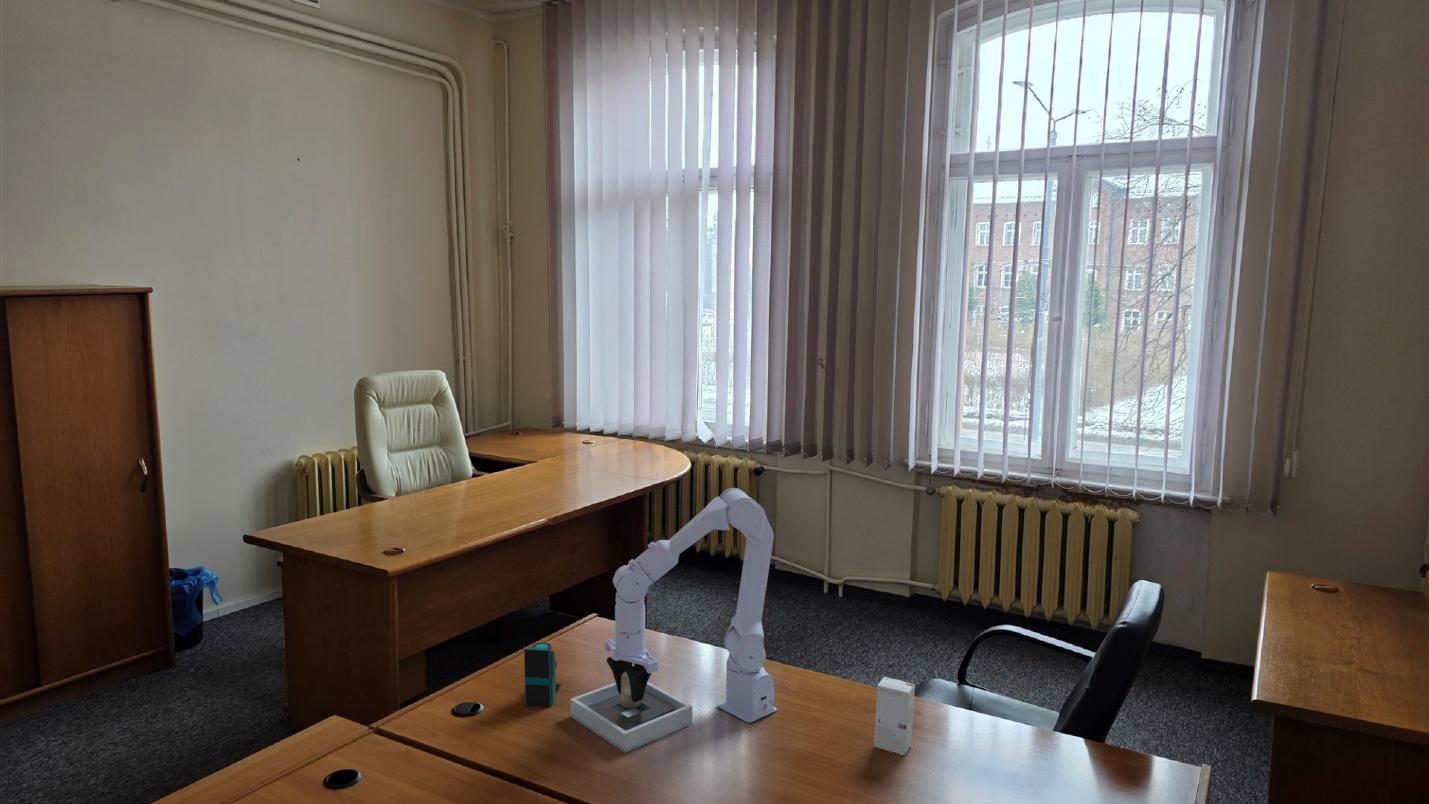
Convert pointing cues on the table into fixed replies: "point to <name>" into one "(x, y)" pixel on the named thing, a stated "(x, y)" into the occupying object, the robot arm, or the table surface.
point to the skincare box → (894, 715)
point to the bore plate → (613, 708)
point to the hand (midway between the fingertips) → (630, 696)
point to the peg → (627, 693)
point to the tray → (637, 734)
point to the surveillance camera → (540, 675)
